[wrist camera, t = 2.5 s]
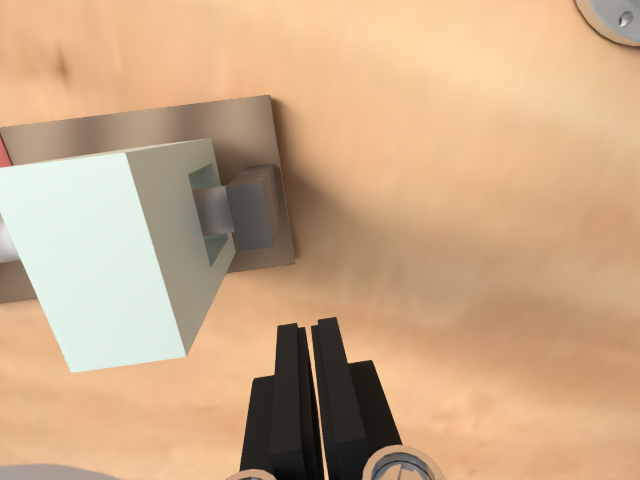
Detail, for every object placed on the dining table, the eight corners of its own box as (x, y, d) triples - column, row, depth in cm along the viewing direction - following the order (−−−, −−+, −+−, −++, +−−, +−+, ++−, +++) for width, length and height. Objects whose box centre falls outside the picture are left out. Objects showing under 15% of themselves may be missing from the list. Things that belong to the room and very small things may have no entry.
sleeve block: (211, 137, 19) (125, 152, 10) (235, 252, 21) (186, 356, 12) (140, 146, 19) (-19, 170, 9) (172, 260, 21) (71, 372, 12)
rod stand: (270, 96, 21) (254, 80, 13) (295, 257, 25) (294, 320, 17) (-104, 142, 21) (-353, 153, 13) (-23, 300, 24) (-177, 385, 16)
